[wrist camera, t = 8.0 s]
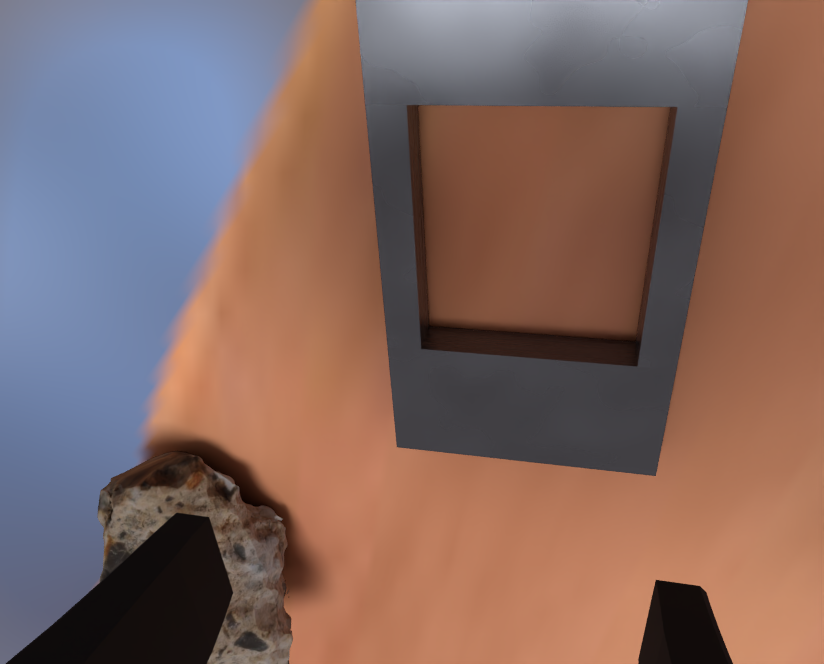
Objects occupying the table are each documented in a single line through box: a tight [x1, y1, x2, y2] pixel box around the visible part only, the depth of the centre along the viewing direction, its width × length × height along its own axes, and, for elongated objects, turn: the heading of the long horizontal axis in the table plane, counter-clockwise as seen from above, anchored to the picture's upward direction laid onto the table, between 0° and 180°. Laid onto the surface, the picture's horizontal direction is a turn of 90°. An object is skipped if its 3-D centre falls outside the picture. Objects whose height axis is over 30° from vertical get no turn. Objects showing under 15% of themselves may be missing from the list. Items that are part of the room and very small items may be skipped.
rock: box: [98, 451, 293, 664], centre depth 27 cm, size 9×7×10 cm
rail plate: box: [356, 0, 748, 476], centre depth 16 cm, size 8×22×1 cm, turn 4°
